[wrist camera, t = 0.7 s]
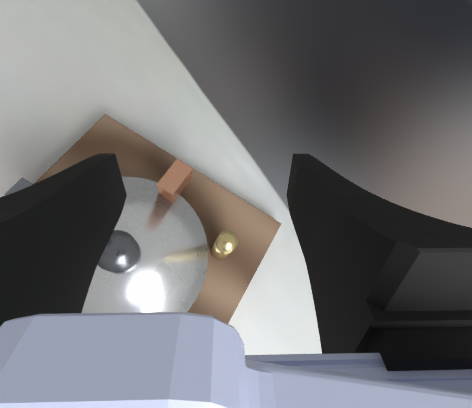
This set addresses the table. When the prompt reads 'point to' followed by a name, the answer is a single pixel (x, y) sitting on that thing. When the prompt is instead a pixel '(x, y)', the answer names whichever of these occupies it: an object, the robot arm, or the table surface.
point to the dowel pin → (224, 244)
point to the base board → (204, 204)
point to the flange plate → (150, 249)
